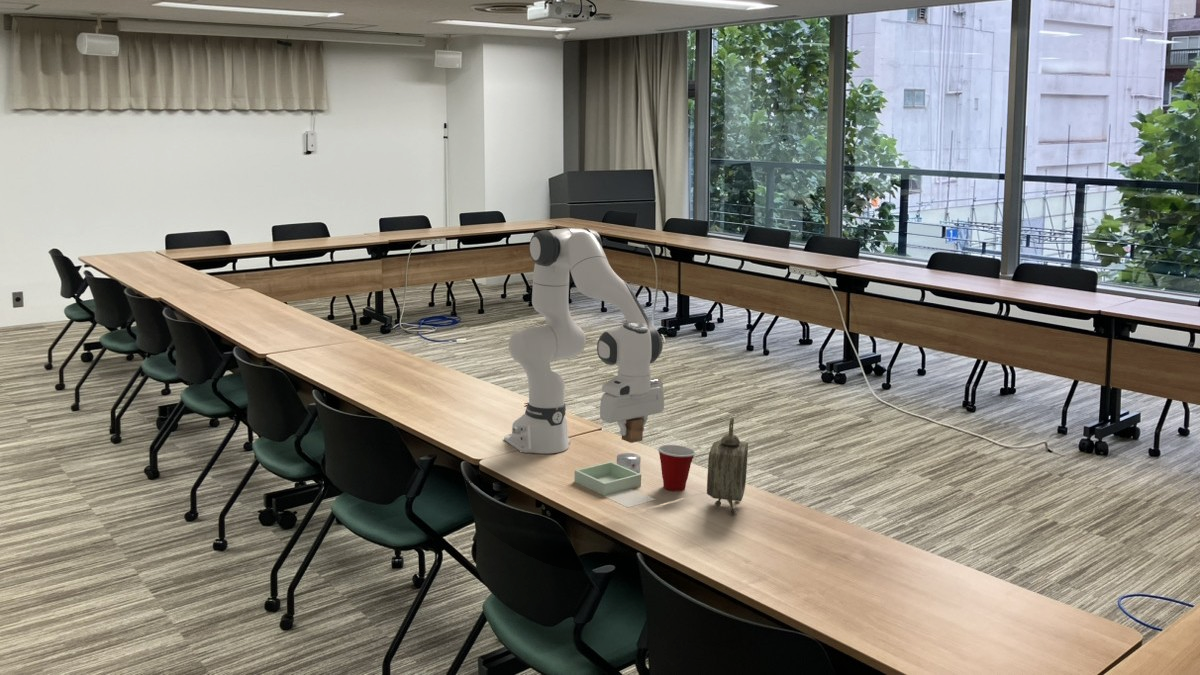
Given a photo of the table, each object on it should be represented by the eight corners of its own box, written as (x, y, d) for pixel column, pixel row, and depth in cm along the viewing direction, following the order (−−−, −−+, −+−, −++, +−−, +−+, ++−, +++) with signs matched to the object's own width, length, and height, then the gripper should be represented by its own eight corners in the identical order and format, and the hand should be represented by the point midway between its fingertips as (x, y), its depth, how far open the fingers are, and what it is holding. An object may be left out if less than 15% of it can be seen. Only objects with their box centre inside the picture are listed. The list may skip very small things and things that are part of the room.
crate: (574, 483, 292) (574, 470, 291) (610, 474, 300) (611, 461, 299) (604, 497, 282) (604, 483, 281) (640, 487, 290) (641, 474, 289)
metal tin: (611, 472, 302) (611, 455, 301) (629, 467, 307) (629, 451, 306) (626, 478, 297) (627, 462, 296) (644, 474, 302) (645, 457, 300)
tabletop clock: (739, 518, 269) (744, 427, 264) (704, 514, 271) (709, 424, 266) (744, 499, 283) (750, 412, 278) (712, 495, 285) (716, 409, 280)
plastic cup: (702, 491, 288) (704, 450, 286) (672, 498, 282) (674, 457, 280) (677, 480, 297) (678, 440, 295) (647, 487, 291) (649, 446, 288)
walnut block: (621, 439, 277) (622, 417, 276) (632, 436, 280) (633, 415, 278) (631, 443, 274) (631, 421, 273) (642, 440, 277) (643, 419, 275)
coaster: (604, 498, 281) (604, 496, 281) (631, 490, 287) (631, 488, 287) (627, 509, 274) (627, 507, 273) (655, 501, 280) (655, 499, 280)
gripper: (654, 375, 282) (652, 424, 285) (597, 386, 270) (595, 436, 273) (670, 380, 278) (668, 429, 281) (612, 391, 265) (610, 442, 268)
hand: (632, 433), depth 276 cm, fingers closed on walnut block, 4 cm apart
